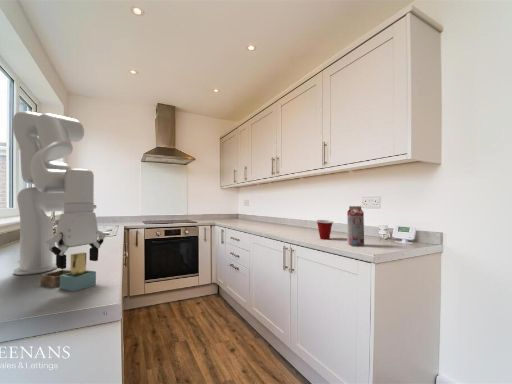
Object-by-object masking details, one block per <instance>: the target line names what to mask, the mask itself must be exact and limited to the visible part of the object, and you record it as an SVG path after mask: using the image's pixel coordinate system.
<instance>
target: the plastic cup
mask: <svg viewBox="0 0 512 384" xmlns="http://www.w3.org/2000/svg"><path fill="white" fill-rule="evenodd" d="M316 223H317V228H318V229H317V230H318V234H319V238H320V240H330V237H331V231H332V226H333V224H334V221H333V220H329V219H327V220H326V219H317V220H316Z"/></svg>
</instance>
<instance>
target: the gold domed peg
mask: <svg viewBox="0 0 512 384" xmlns="http://www.w3.org/2000/svg"><path fill="white" fill-rule="evenodd" d="M86 270H87V252H75V253H70V270H69V271H70V276H72V277H77V276H80V275H84V274H86Z"/></svg>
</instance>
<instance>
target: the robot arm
mask: <svg viewBox="0 0 512 384" xmlns="http://www.w3.org/2000/svg"><path fill="white" fill-rule="evenodd" d="M12 131H13V135H14V137H15V139H16V140H15V141H16V142H17V144H18V146H19V153H20V154H19V155H20V169H21V171H20V173H21V178H22V181H23V182H24V183H26V184H31V185H34V187H33V186H32V187H25V188H23V189H21V190H20V191H18V194H17V195H16V196H17V197H16V200H17V206H18V211H19V260H18V264H19V267H16V268H15V269H14V270H13V275H18V276H19V275H20V276H22V275H27V276H28V275H35V274H40V273H46V272H50V271H54V270H56V269H60V270H66V268H67V254H66V252H67V251H68V250H69V248H75V247H80V246H86V245H89V246H90V248H89V257H88V258H89V261H91V262H97V261H99V249H100V248H101V246H102V244H103V243H104V241H105V238H106V236H107V234H106V233H105V232H103V231H100V230H99V229H98V221H97V217H96V213H95V212H94V211H95V210H96V209H97V204H94V192H95V191H94V190H95V189H94V187H95V186H94V185H95V183H94V180H95V179H94V176H95V175H94V173H93V171H92V170H90V169H86V168H85V169H84V168H72V167H71V166H70V165H69V164H68V163H65V162H59V161H57V160H60V159H64V158H67V157H69V156H70V155H71V154H72V152H73V149H74V148H73V144H72V142H74V143H75V142H80V141H82V140H83V138H84V136H85V128H84V126H83V124H82V123H81V122H80V121H79V120H78V119H75V118H71V117H67V116H62V115H57V114H54V113H53V114H52V113H38V112H33V111H18V112H16V113H15V114H14V115H13V118H12ZM94 209H95V210H94ZM50 212H63V213H60V215H59V219H58V222H57V223H58V224H57V230H56V235H54V223H53V220H52V219H51V218H50V217H49V216H48V215H47V213H50ZM54 255H55V262H53V261H54V260H53V258H54V257H53V256H54Z"/></svg>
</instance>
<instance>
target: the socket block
mask: <svg viewBox="0 0 512 384" xmlns="http://www.w3.org/2000/svg"><path fill="white" fill-rule="evenodd" d="M67 273H70V270H68V269H60V270H57V271H53V272H48V273H44V274H41V275H40V285H41V286H46V287H50V288H57V287H60V275H63V274H67Z"/></svg>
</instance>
